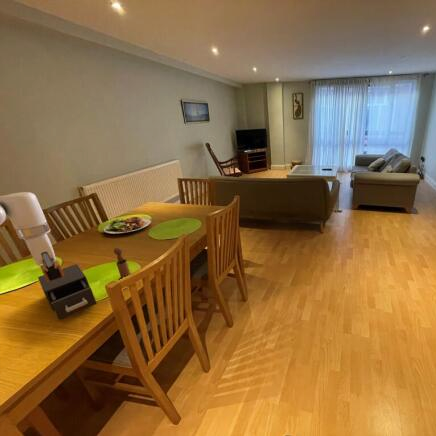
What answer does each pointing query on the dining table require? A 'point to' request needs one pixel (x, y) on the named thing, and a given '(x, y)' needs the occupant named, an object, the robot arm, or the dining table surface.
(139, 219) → the plate of food
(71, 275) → the dark grey cabinet
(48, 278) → the block
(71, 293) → the drawer
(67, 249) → the dining table surface
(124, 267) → the wooden pepper mill
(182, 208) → the dining table surface
